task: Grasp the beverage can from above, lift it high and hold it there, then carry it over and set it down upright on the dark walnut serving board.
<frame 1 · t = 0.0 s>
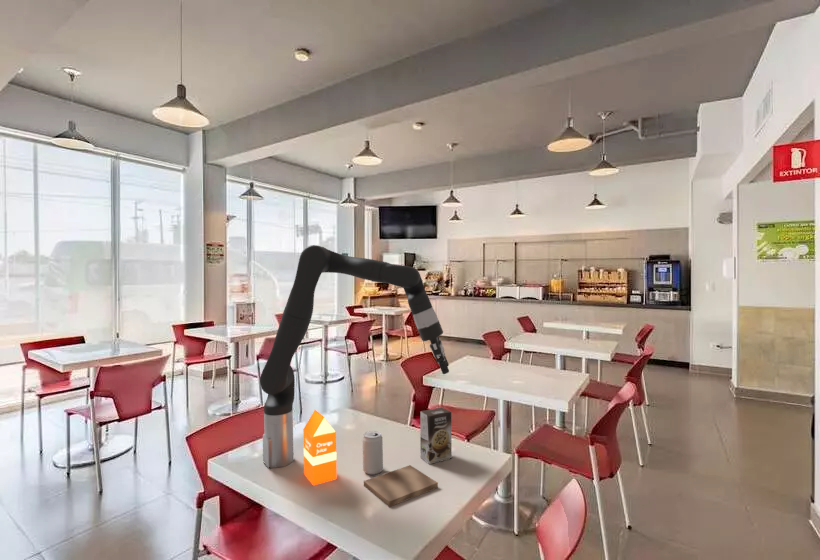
hand: (446, 369, 136), 31 cm above the table, tool tilted 20°, fingers open, 8 cm apart
orange juice: (320, 477, 130), on the table
beverage can: (373, 471, 133), on the table
coffee box: (436, 458, 142), on the table
walnut board: (400, 486, 123), on the table
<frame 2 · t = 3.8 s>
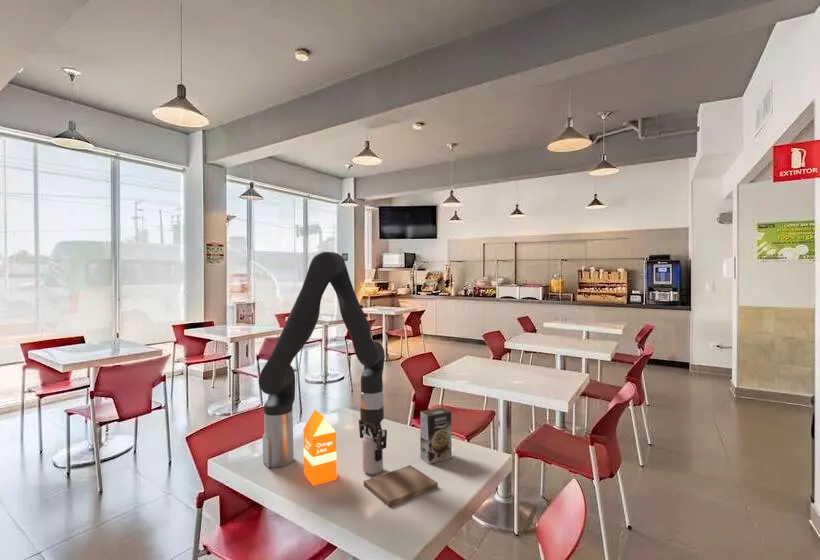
hand: (372, 456, 133), 5 cm above the table, tool pointing down, fingers closed on beverage can, 6 cm apart
beverage can: (373, 471, 133), on the table, touching gripper
everything else where it was.
when the fingers open (8 cm above the table, at t = 12.0 s): beverage can drops 2 cm, resting on walnut board.
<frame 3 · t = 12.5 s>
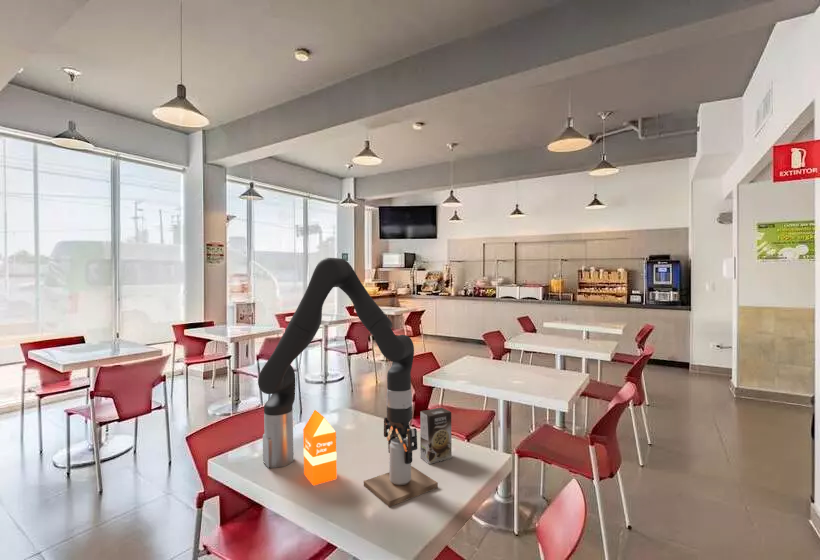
hand: (400, 457, 123), 9 cm above the table, tool pointing down, fingers open, 8 cm apart
beverage can: (400, 481, 123), point 1 cm above the table, touching walnut board
everything else where it was.
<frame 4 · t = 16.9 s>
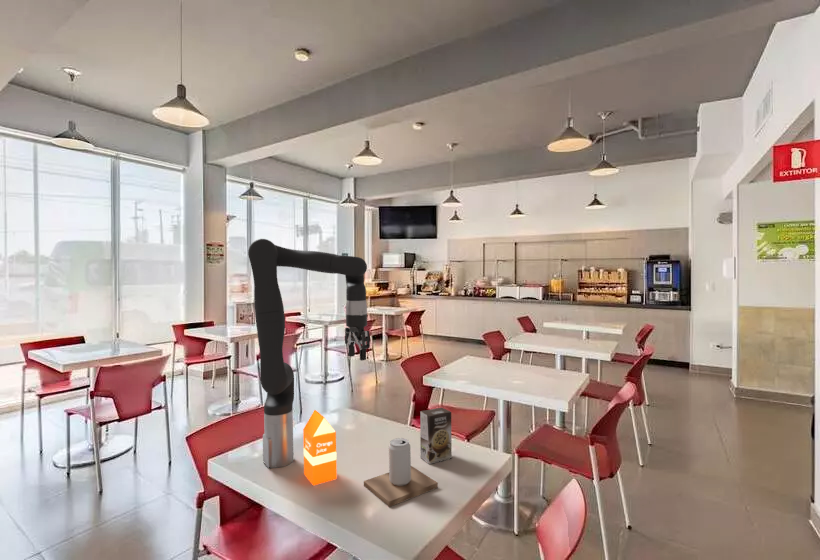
hand: (357, 358, 149), 33 cm above the table, tool pointing down, fingers open, 8 cm apart
nothing on the table moved.
at the end: beverage can inside the target area on the walnut board (0.1 cm from its centre), point 1.3 cm above the walnut board's base; beverage can tilted 0°; the gripper is holding nothing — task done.
